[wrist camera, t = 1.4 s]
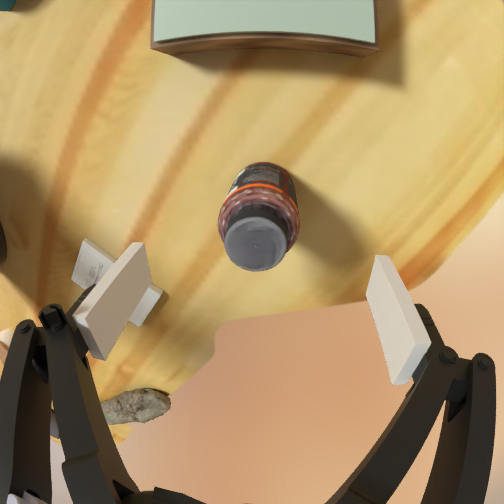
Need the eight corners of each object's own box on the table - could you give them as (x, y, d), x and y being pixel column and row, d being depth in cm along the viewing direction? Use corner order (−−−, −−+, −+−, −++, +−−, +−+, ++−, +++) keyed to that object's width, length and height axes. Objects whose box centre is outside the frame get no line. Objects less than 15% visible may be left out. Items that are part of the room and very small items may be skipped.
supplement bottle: (223, 174, 27) (191, 221, 18) (280, 151, 26) (281, 185, 16) (248, 225, 30) (233, 293, 20) (303, 206, 28) (315, 268, 19)
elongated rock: (86, 399, 62) (114, 416, 65) (79, 414, 57) (109, 431, 61) (143, 377, 46) (184, 401, 50) (134, 401, 42) (178, 424, 46)
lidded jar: (43, 346, 48) (24, 376, 40) (34, 357, 52) (17, 383, 44) (11, 313, 45) (-12, 341, 36) (5, 328, 49) (-14, 353, 40)
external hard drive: (142, 321, 40) (75, 274, 37) (164, 288, 36) (88, 235, 33) (138, 328, 38) (69, 280, 35) (160, 296, 34) (82, 241, 31)
